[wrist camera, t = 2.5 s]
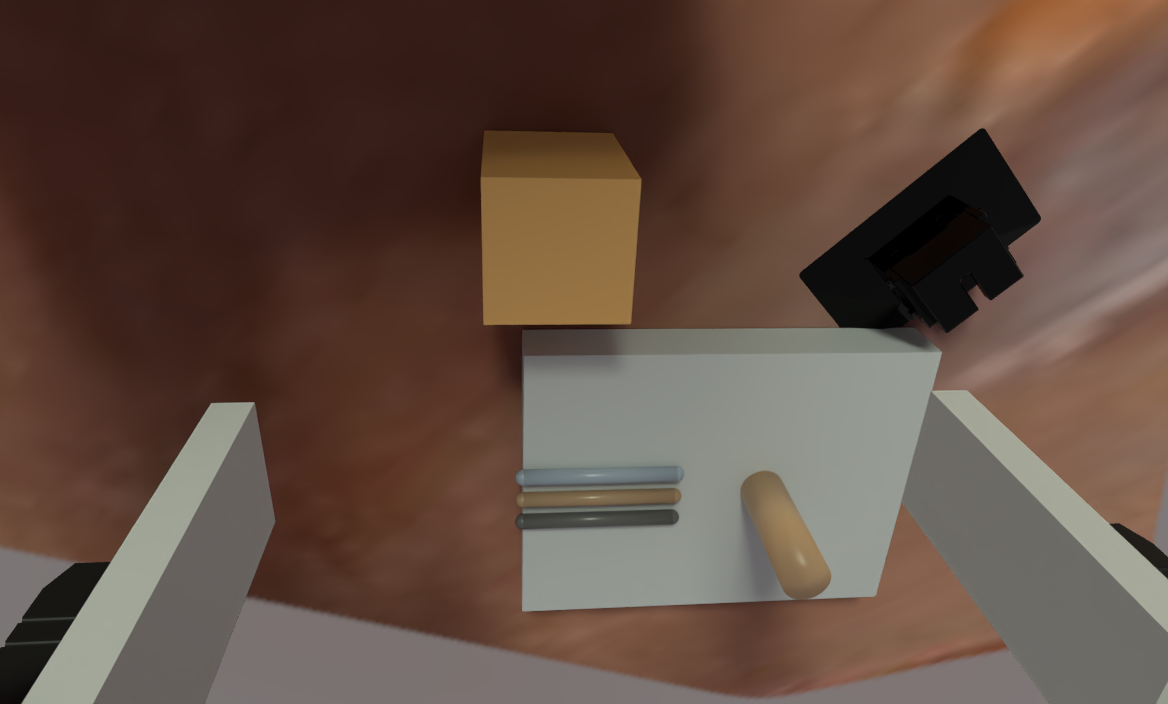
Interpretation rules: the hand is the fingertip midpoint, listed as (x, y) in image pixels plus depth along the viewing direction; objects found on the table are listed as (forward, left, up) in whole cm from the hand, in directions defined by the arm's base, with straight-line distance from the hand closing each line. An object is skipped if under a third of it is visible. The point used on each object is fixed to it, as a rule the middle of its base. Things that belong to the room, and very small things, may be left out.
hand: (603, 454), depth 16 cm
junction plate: (+8, -13, -18) cm, 24 cm away
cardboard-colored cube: (0, 0, -18) cm, 18 cm away
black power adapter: (+16, -2, -19) cm, 25 cm away
